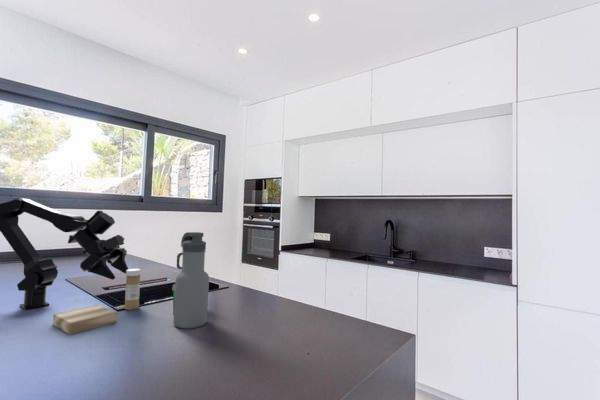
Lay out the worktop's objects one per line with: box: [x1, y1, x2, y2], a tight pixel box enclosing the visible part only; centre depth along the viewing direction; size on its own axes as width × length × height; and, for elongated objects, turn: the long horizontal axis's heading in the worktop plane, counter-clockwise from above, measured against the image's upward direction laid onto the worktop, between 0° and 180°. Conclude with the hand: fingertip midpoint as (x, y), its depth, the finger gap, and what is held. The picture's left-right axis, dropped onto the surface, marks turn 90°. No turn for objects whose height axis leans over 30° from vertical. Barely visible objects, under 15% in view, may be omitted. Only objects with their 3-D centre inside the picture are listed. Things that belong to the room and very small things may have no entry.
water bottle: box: [173, 231, 210, 330], centre depth 96 cm, size 10×10×28 cm
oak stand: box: [52, 304, 118, 335], centre depth 92 cm, size 12×12×3 cm
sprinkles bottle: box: [124, 268, 142, 311], centre depth 108 cm, size 5×5×14 cm
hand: (121, 275), depth 108 cm, fingers open, 9 cm apart
